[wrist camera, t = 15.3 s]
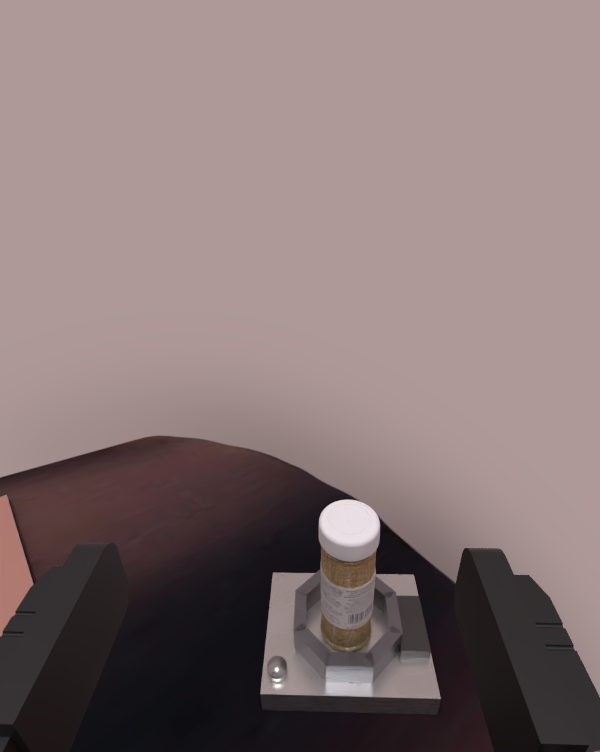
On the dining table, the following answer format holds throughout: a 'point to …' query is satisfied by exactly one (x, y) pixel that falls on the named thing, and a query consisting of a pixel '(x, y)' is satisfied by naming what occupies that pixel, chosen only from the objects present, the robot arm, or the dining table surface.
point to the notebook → (11, 566)
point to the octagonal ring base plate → (347, 653)
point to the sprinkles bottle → (347, 573)
